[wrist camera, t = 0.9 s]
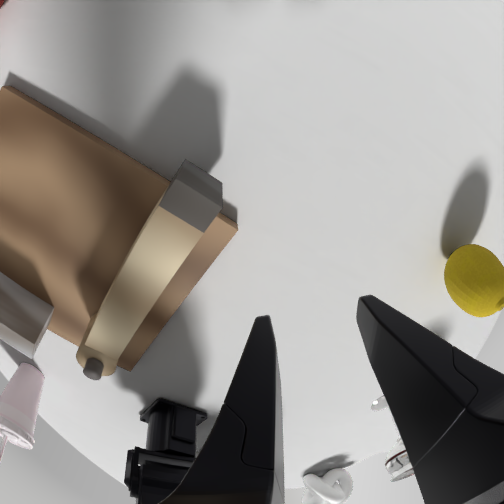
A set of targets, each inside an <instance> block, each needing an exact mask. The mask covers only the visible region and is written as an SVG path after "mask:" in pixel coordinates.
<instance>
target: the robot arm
mask: <svg viewBox="0 0 504 504" xmlns="http://www.w3.org/2000/svg"><path fill="white" fill-rule="evenodd" d="M356 318H357V324H358V327H359V330H360V333H361V336H362V339H363V342H364V345H365V349H366V352H367V355H368V358H369V361H370V364H371V366H372V369H373V371H374V373H375V375H376V378H377V380H378V382H379V385H380V387H381V389H382V392H383V394H384V396H385V399H386V401H387V404H388V406H389V408H390V411H391V413H392V416H393V418H394V421H395V423H396V426H397V428H398V431H399V433H400V436H401V438H402V441H403V443H404V446H405V449H406V451H407V454H408V457H409V459H410V462H411V465H412V467H413V471H414V473H415V476H416V479H417V482H418V485H419V488H420V490H421V493H422V496H423V499H424V502H425V504H504V374H502V373H500V372H498V371H496V370H494V369H493V368H490V367H488V366H487V365H485V364H483V363H481V362H479V361H478V360H476V359H474V358H472V357H471V356H469V355H467V354H466V353H464V352H463V351H461V350H459V349H458V348H456V347H455V346H453V347H452V345H451V344H450V343H448V342H447V341H445V340H444V339H442V338H440V337H439V336H437V335H436V334H434V333H433V332H431V331H429V330H428V329H426V328H425V327H423V326H421V325H420V324H418V323H417V322H415V321H413V320H412V319H410V318H409V317H407V316H405V315H404V314H402V313H401V312H399V311H397V310H396V309H394V308H392V307H391V306H389V305H388V304H386V303H384V302H383V301H381V300H379V299H378V298H376V297H374V296H373V295H366V296H362V297H360V298H359V300H358V307H357V316H356ZM206 419H207V414H206V413H203V412H199V411H196V410H193V409H190V408H187V407H184V406H181V405H178V404H175V403H173V402H170V401H167V400H164V399H157V400H156V401H155V402H154V403H153V404H152V405H151V406H150V407H149V408H148V409H147V410H146V411H145V412H144V413H143V414H142V415H141V416H140V420H141V421H143V422H146V423H148V432H147V442H146V449H142V448H140V447H136V446H135V449H134V450H128V454H127V462H126V470H125V479H124V483H125V484H126V485H127V487H128V488H129V491H130V496H131V497H135V498H136V504H284V503H285V502H284V456H283V423H282V396H281V380H280V372H279V364H278V356H277V348H276V341H275V337H274V332H273V328H272V323H271V319H270V316H269V315H265V316H259V317H256V319H255V321H254V324H253V327H252V329H251V332H250V335H249V337H248V340H247V343H246V345H245V348H244V351H243V353H242V356H241V359H240V361H239V364H238V367H237V369H236V372H235V374H234V377H233V380H232V382H231V385H230V387H229V390H228V393H227V395H226V398H225V400H224V404H223V405H222V408H221V410H220V413H219V415H218V417H217V420H216V422H215V424H214V426H213V429H212V431H211V433H210V434H209V436H208V438H207V440H206V442H205V444H204V445H203V447H202V449H201V451H200V452H199V454H198V456H197V457H196V426H197V425H199V424H200V423H202V422H203V421H204V420H206ZM138 464H140V466H138Z"/></svg>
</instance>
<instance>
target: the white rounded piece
mask: <svg viewBox="0 0 504 504" xmlns="http://www.w3.org/2000/svg"><path fill="white" fill-rule="evenodd" d="M336 480H338V481H339V484H338V483H337V482H336ZM303 482H304V484H305V486H306V487H307V488H306V490H305V492H304V494H303V497H302V504H344V503H345V502H346V501H347V500H348V498H349V497H350V495H351V492H352V488H353V481H352V478H351V476H350V474H349V473H348V472H347V471H346V470H345V469H342V468H334V469H332V470H330V471H329V472H327V473H326V474H325V475H324V476H323V477H318V476H316V475H314V474H307V475H306V476H304V478H303Z"/></svg>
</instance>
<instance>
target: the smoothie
mask: <svg viewBox="0 0 504 504" xmlns="http://www.w3.org/2000/svg"><path fill="white" fill-rule="evenodd" d="M44 380H45V378H44V375H43V374H42V373H41V372H40V371H39V370H38V369H37V368H36V367H34V366H33V365H31V364H28V363H21V364H20V366H19V367H18V369H17V370H16V372H15V373H14V375H13V376H12V378H11V379H10V381H9V383H8V384H7V386H6V388H5V389H4V391H3V392H2V394H1V395H0V436H1V437H3V439H2V443H1V446H0V463H1V459H2V456H3V453H4V449H5V446H6V443H7V441H9V442H11V443H13V444H15V445H17V446H19V447H22V448H25V449H33V445H34V443H35V440H34V439H33V435H34V429H35V423H36V417H37V412H38V407H39V402H40V397H41V392H42V388H43V384H44Z"/></svg>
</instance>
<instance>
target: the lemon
mask: <svg viewBox="0 0 504 504" xmlns="http://www.w3.org/2000/svg"><path fill="white" fill-rule="evenodd" d="M444 280H445V285H446V288H447V291H448V293H449V295H450V296H451V298H452V299H453V301H454V302H455V303H456V304H457V305H458V306H459V307H460V308H461V309H462V310H464V311H465V312H467V313H468V314H470V315H473V316H476V317H486V316H490V315H492V314H494V313H495V312H497V311H500V310H502V309H503V307H504V267H503V265H502V264H501V262H500V261H499V260H498V258H497V257H496V256H495V255H494V254H493V253H492V252H491V251H489V250H488V249H486V248H484V247H482V246H479V245H476V244H468V245H464V246H461V247H459V248H458V249H456V250H455V251H454V252H453V253H452V254H451V255H450V257H449V259H448V261H447V263H446V266H445V271H444Z"/></svg>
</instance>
